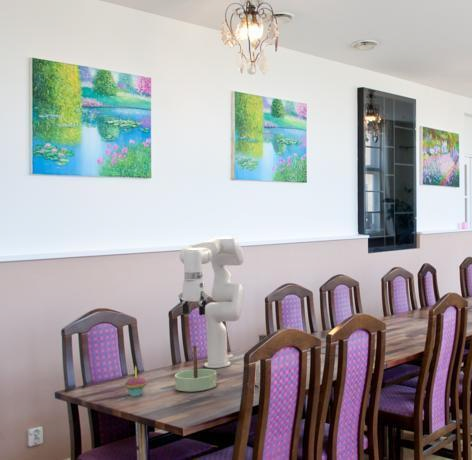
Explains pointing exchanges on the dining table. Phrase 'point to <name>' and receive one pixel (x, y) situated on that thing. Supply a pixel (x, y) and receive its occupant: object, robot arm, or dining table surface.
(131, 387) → the cupcake
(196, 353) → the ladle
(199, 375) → the bowl
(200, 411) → the dining table surface
